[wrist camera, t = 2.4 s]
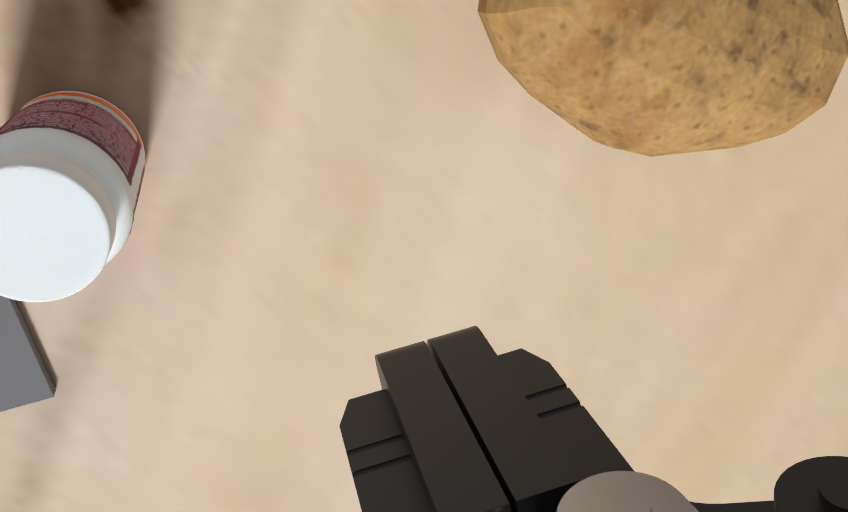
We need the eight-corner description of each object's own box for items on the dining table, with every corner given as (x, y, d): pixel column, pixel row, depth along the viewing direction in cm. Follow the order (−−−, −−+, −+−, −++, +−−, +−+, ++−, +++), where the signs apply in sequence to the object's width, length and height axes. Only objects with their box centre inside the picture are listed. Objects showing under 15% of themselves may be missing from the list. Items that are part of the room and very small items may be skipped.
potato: (691, 168, 35) (814, 230, 28) (403, 63, 30) (463, 105, 23) (797, -51, 32) (963, -44, 25) (500, -206, 28) (602, -252, 20)
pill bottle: (-13, 96, 27) (-97, 161, 20) (132, 82, 28) (104, 139, 21) (23, 225, 29) (-42, 329, 22) (157, 207, 30) (140, 301, 23)
